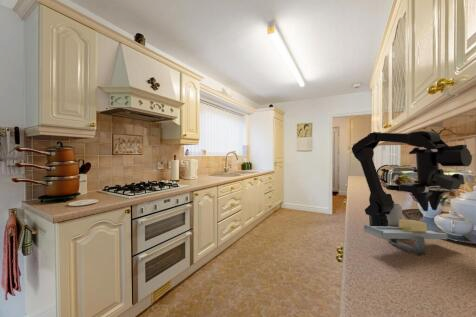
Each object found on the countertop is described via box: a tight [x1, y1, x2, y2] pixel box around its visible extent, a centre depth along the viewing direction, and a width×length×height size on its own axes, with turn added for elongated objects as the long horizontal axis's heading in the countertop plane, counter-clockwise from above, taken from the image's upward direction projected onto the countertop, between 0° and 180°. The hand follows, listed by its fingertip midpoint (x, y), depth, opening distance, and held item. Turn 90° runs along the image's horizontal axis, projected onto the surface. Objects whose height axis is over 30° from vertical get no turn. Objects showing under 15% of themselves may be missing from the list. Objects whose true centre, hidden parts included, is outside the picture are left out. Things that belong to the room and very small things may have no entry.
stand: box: [388, 236, 426, 257], centre depth 70 cm, size 11×2×6 cm, turn 10°
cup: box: [386, 202, 403, 227], centre depth 97 cm, size 7×10×9 cm
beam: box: [363, 224, 448, 241], centre depth 70 cm, size 8×26×3 cm, turn 100°
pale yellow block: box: [398, 218, 428, 233], centre depth 70 cm, size 4×6×4 cm
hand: (430, 210), depth 72 cm, fingers open, 3 cm apart
